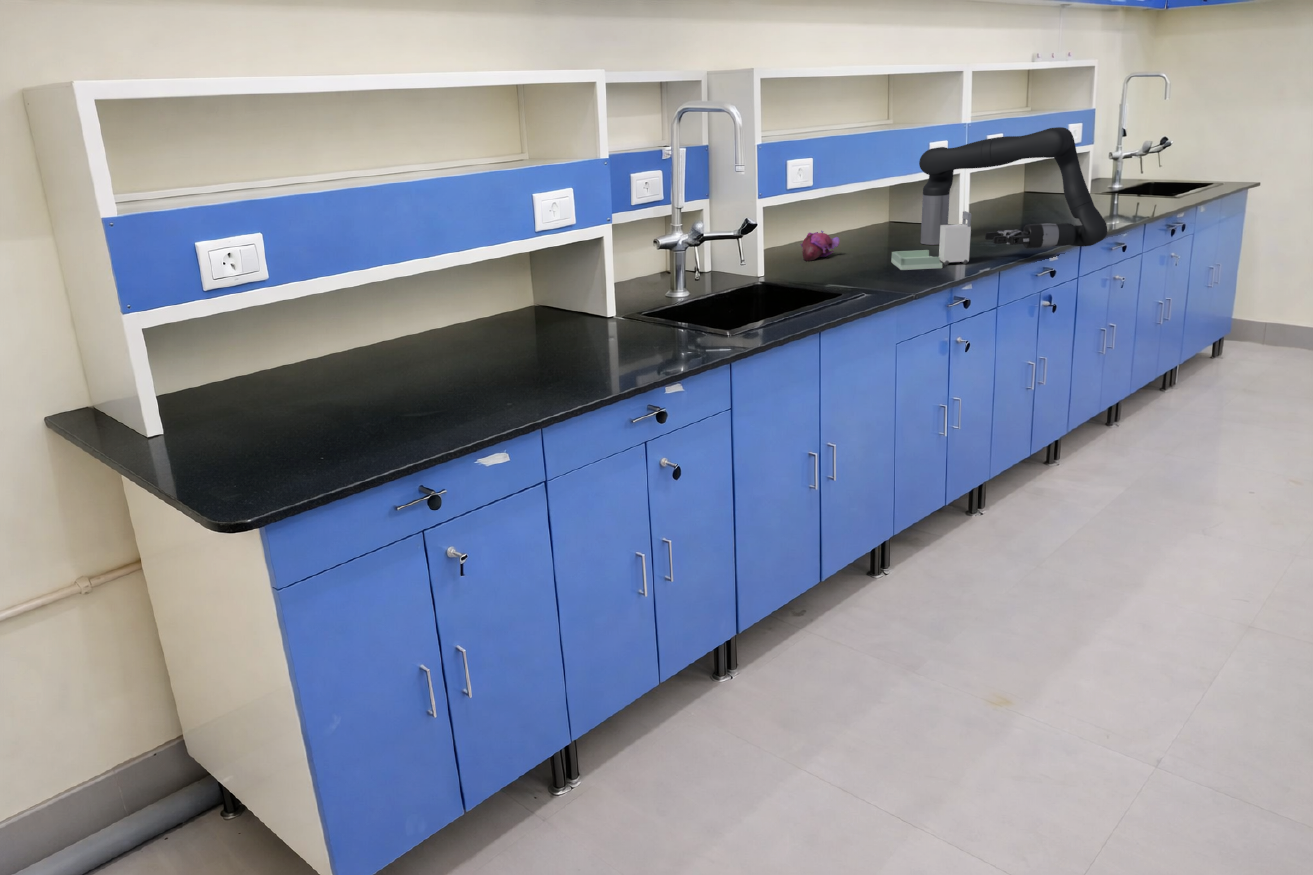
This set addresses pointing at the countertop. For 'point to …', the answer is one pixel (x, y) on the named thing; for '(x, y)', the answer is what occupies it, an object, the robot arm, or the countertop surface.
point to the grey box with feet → (955, 241)
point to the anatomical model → (818, 245)
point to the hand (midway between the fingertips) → (989, 238)
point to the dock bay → (915, 260)
